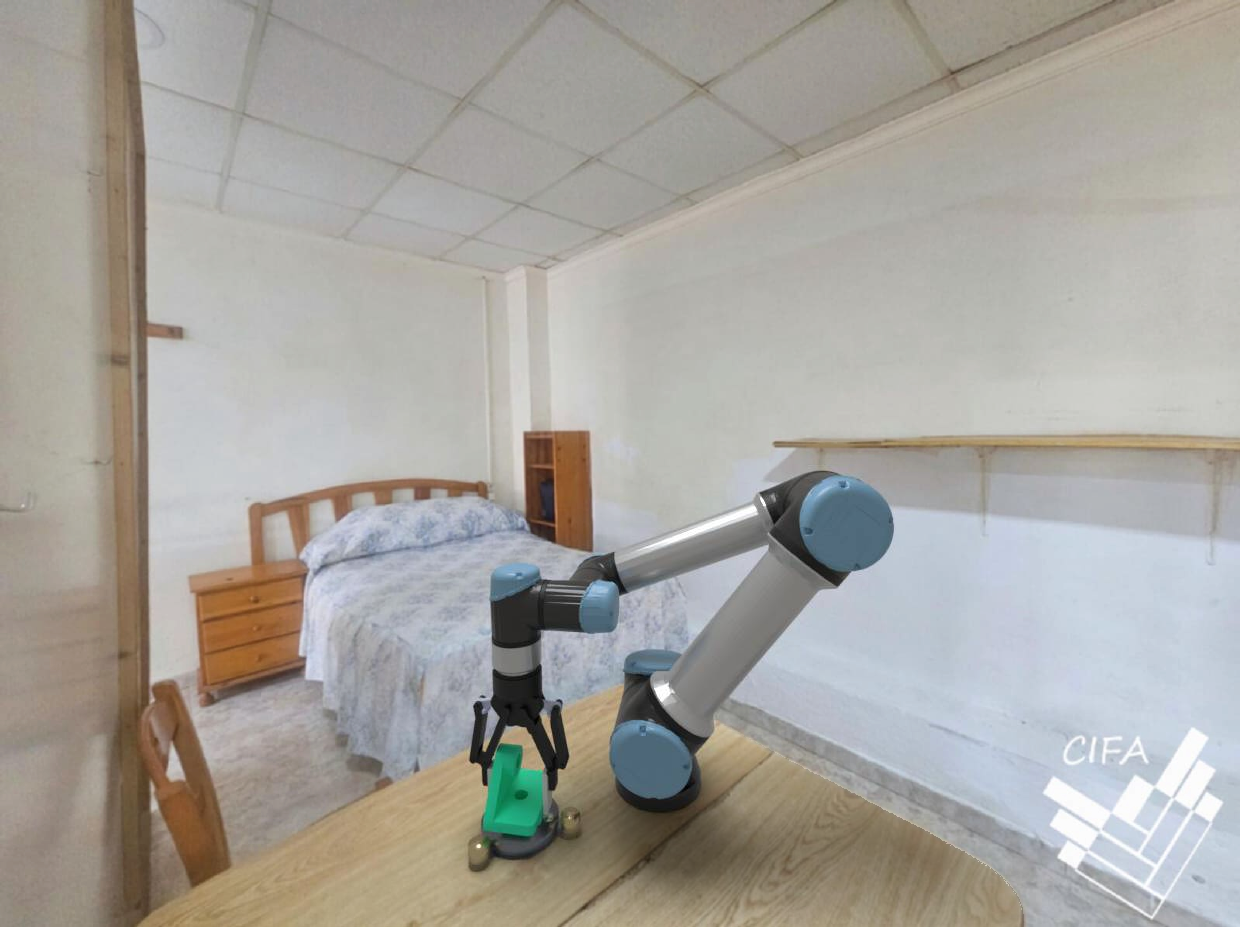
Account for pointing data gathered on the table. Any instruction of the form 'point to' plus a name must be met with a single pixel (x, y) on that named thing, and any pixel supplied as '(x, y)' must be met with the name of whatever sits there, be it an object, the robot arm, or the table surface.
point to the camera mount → (513, 794)
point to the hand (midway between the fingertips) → (520, 805)
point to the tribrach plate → (523, 838)
